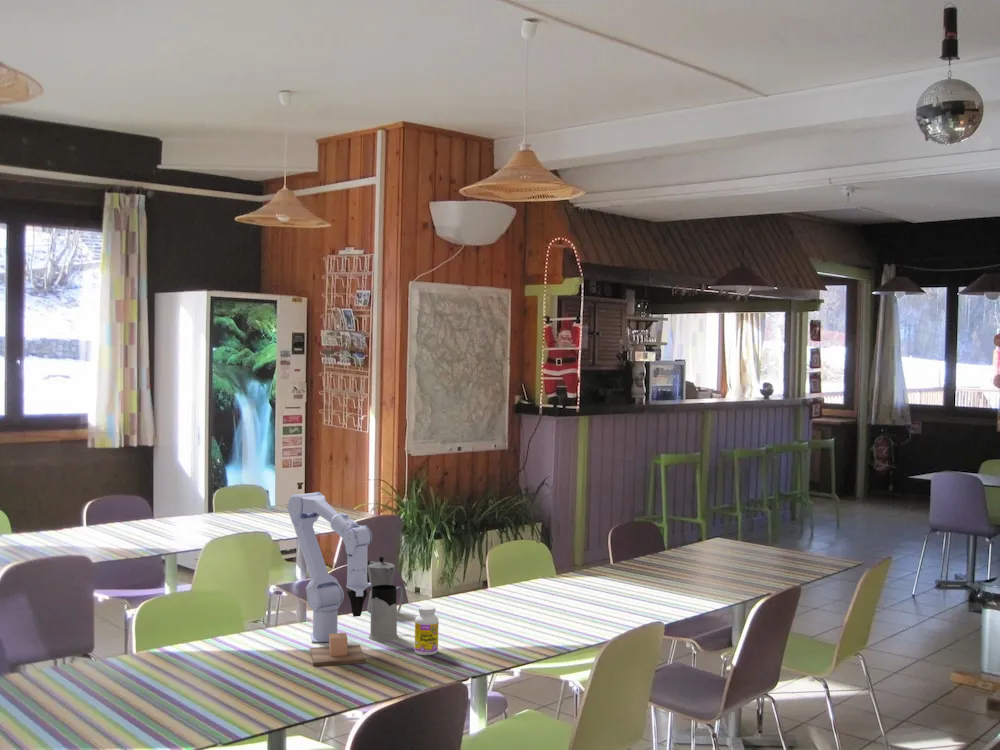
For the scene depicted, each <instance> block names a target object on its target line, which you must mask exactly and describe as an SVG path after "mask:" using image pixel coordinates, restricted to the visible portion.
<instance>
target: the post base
mask: <svg viewBox="0 0 1000 750" xmlns="http://www.w3.org/2000/svg"><path fill="white" fill-rule="evenodd" d="M310 656H311V660H312V665H313V667H321V666H337V665H351V664H365V663H366V657H365V654H364V651H363V650H362V647H361V644H354V645H349V644H348V645H347V655H342V656H330V653H329V646H319V647H310Z"/></svg>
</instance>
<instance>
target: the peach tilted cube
mask: <svg viewBox="0 0 1000 750" xmlns="http://www.w3.org/2000/svg"><path fill="white" fill-rule="evenodd" d="M347 646H348V635H347V633H346V632H337V633H333V634H329V642H328V647H329V653H330V656H342V655H347Z"/></svg>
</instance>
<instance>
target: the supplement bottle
mask: <svg viewBox="0 0 1000 750" xmlns="http://www.w3.org/2000/svg"><path fill="white" fill-rule="evenodd" d="M418 613H419V615H417V616H416V617H415V620H414V622H415V623H414V652H415V654H417V655H420V656H432V655H435V654H437V653H438V651H439V618H438V617H437V615H435V613H436V607H435V606H433V605H422V606H419V607H418Z"/></svg>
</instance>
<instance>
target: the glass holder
mask: <svg viewBox="0 0 1000 750" xmlns="http://www.w3.org/2000/svg"><path fill="white" fill-rule="evenodd" d="M398 589H399V590H400V597H399V603H397V593H398V592H397V591H398ZM403 598H404V590H403V588H402V587H401V586H396V585H394V584H393V585H376V586H373V587H372V597H371V613H370V632H369V636H368V639H369V640H370V641H374V642H392V641H395V640H397V639H398V638H399V635H398V632H397V630H398V629H397V628H398V627H397V626H398V625H397V624H398V621H397V620H398V615H399V614H400V612H401V608H402V605H403Z"/></svg>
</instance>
